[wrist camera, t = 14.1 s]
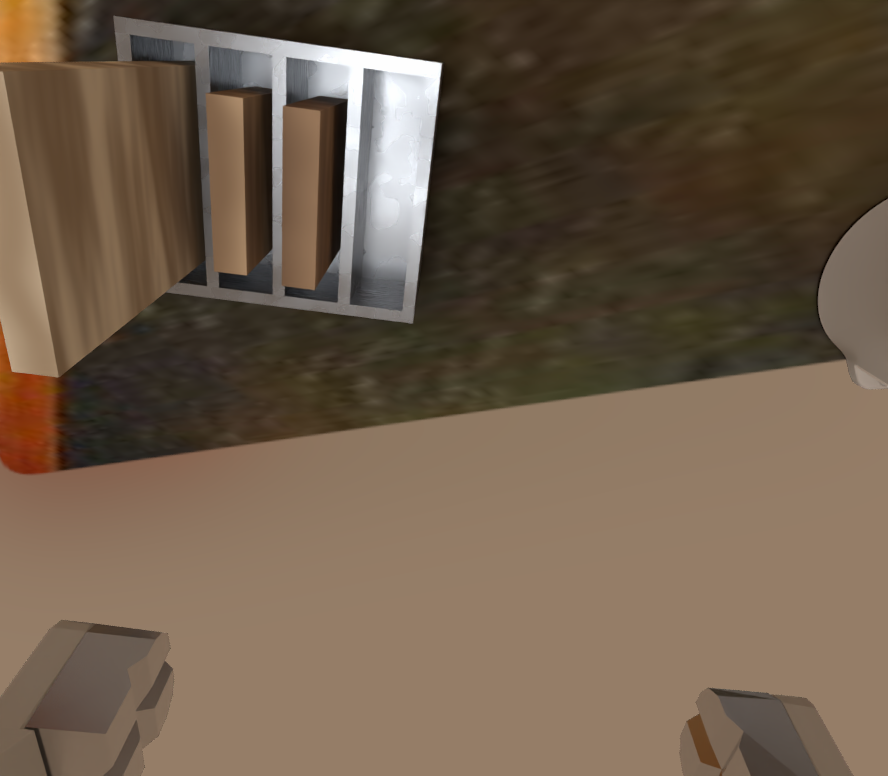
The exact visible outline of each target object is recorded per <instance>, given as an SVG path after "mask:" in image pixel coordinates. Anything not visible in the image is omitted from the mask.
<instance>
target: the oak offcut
mask: <svg viewBox="0 0 888 776" xmlns="http://www.w3.org/2000/svg"><path fill="white" fill-rule="evenodd" d="M206 112H207V133H208V154H209V175H210V197H211V218H212V239H213V260H214V271H215V272H223V273H231V274H238V275H246V276H247V275H248V274H249V273H250V272H251V271H252V270H253V269H254V268H255V267H256V266H257V265H258V263H259V262H260V261H261V260H262V259H263V258H264V257H265V256H266V255H267V254H268V253H269V252H270V251H271V250H272V249H273V189H272V89H270V88H263V87H256V86H252V87H245V88H238V89H231V90H224V91H217V92H210V93H206Z"/></svg>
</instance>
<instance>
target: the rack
mask: <svg viewBox="0 0 888 776" xmlns="http://www.w3.org/2000/svg"><path fill="white" fill-rule="evenodd" d="M114 26H115V35H116V45H117V54H118V61H195V69H196V88H197V107H198V125H199V144H200V163H201V182H202V200H203V219H204V238H205V256H206V260H205V261H204V262H202V263H201V264H200V265H199V266H197V267H196V268H195V269H194V270H192V271H191V272H190V273H189V274H187V275H186V276H185V277H184V278H182V279H181V280H180V281H179V282H177V283H176V284H175V285H174V286H172V287H171V288H170V289H169V290H167V291H166V292H169V293H176V294H184V295H192V296H200V297H208V298H216V299H224V300H232V301H240V302H247V303H255V304H263V305H271V306H279V307H287V308H295V309H303V310H310V311H318V312H326V313H334V314H342V315H350V316H358V317H366V318H373V319H381V320H389V321H397V322H405V323H413V319H414V313H415V308H416V302H417V296H418V291H419V283H420V274H421V266H422V257H423V248H424V239H425V230H426V221H427V213H428V204H429V195H430V186H431V177H432V169H433V160H434V151H435V142H436V133H437V125H438V116H439V107H440V98H441V89H442V80H443V72H444V63H445V62H439V61H432V60H425V59H418V58H411V57H404V56H397V55H390V54H383V53H376V52H369V51H362V50H356V49H349V48H342V47H335V46H328V45H321V44H314V43H307V42H300V41H293V40H286V39H279V38H272V37H265V36H258V35H251V34H244V33H238V32H231V31H224V30H217V29H210V28H203V27H196V26H189V25H182V24H175V23H168V22H160V21H151V20H143V19H135V18H126V17H118V16H114ZM252 86H256V87H263V88H270V89H272V189H273V249H272V250H271V251H270V252H269V253H268V254H267V255H266V256H265V257H264V258H263V259H262V260H261V261H260V262H259V263H258V265H257V266H256V267H255V268H254V269H253V270H252V271H251V272H250V273H249V274H248V275H247V276H246V275H238V274H231V273H223V272H215V271H214V260H213V239H212V218H211V197H210V175H209V154H208V133H207V112H206V93H210V92H217V91H224V90H231V89H238V88H245V87H252ZM316 96H327V97H334V98H341V99H348V108H347V128H346V148H345V168H344V188H343V208H342V228H341V248H340V250H339V252H338V254H337V255H336V257H335V258H334V260H333V262H332V263H331V265H330V266H329V268H328V270H327V271H326V273H325V275H324V276H323V278H322V279H321V281H320V283H319V284H318V286H317V287H316V289H315V290H310V289H303V288H295V287H287V286H282V131H283V106H284V105H287V104H291V103H295V102H298V101H302V100H305V99H309V98H313V97H316Z"/></svg>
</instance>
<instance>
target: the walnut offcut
mask: <svg viewBox="0 0 888 776" xmlns="http://www.w3.org/2000/svg"><path fill="white" fill-rule="evenodd" d="M347 108H348V99H341V98H334V97H327V96H316V97H313V98H309V99H305V100H302V101H298V102H295V103H291V104H287V105H284V106H283V131H282V286H287V287H295V288H303V289H310V290H315V289H316V287H317V286H318V284H319V283H320V281H321V279H322V278H323V276H324V275H325V273H326V271H327V270H328V268H329V266H330V265H331V263H332V262H333V260H334V258H335V257H336V255H337V254H338V252H339V250H340V248H341V228H342V208H343V188H344V168H345V148H346V128H347Z"/></svg>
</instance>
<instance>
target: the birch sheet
mask: <svg viewBox="0 0 888 776" xmlns="http://www.w3.org/2000/svg"><path fill="white" fill-rule="evenodd" d="M205 260H206V256H205V238H204V219H203V200H202V182H201V163H200V144H199V125H198V107H197V88H196V69H195V61H107V62H22V63H0V319H1V324H2V328H3V333H4V337H5V342H6V346H7V351H8V355H9V360H10V364H11V369H12V372H20V373H28V374H36V375H45V376H53V377H60V376H61V375H62V374H63V373H65V372H66V371H67V370H68V369H70V368H71V367H72V366H73V365H75V364H76V363H77V362H78V361H80V360H81V359H82V358H83V357H85V356H86V355H87V354H88V353H90V352H91V351H92V350H93V349H95V348H96V347H97V346H98V345H100V344H101V343H102V342H104V341H105V340H106V339H107V338H109V337H110V336H111V335H112V334H114V333H115V332H116V331H117V330H119V329H120V328H121V327H122V326H124V325H125V324H126V323H127V322H129V321H130V320H131V319H132V318H134V317H135V316H136V315H137V314H139V313H140V312H141V311H142V310H144V309H145V308H146V307H147V306H149V305H150V304H151V303H152V302H154V301H155V300H156V299H157V298H159V297H160V296H161V295H162V294H164V293H165V292H166V291H167V290H169V289H170V288H171V287H172V286H174V285H175V284H176V283H177V282H179V281H180V280H181V279H182V278H184V277H185V276H186V275H187V274H189V273H190V272H191V271H192V270H194V269H195V268H196V267H197V266H199V265H200V264H201V263H202V262H204V261H205Z"/></svg>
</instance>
